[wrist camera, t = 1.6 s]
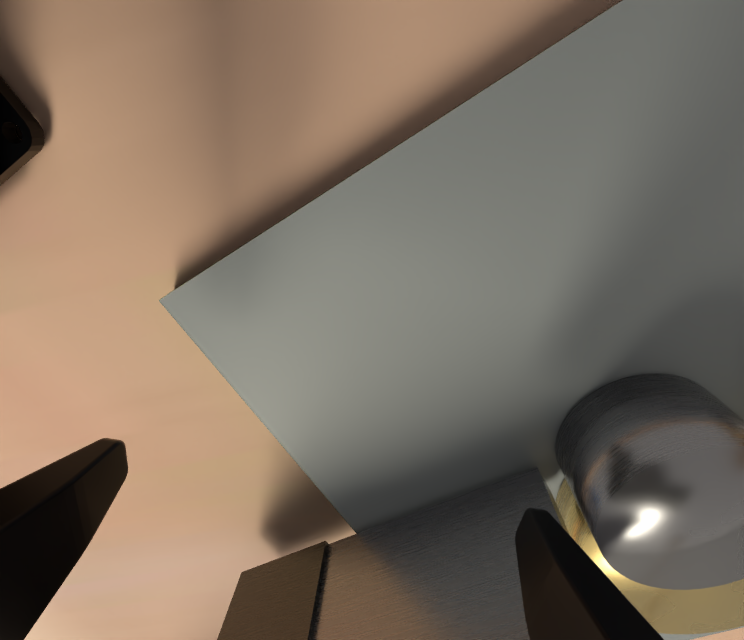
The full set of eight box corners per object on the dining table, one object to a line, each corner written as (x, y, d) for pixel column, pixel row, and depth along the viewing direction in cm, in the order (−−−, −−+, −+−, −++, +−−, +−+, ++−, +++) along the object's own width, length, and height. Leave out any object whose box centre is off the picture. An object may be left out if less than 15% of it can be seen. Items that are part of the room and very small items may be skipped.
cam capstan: (217, 542, 16) (134, 728, 11) (744, 328, 11) (1031, 488, 6) (342, 663, 19) (322, 853, 14) (803, 536, 14) (1028, 760, 9)
